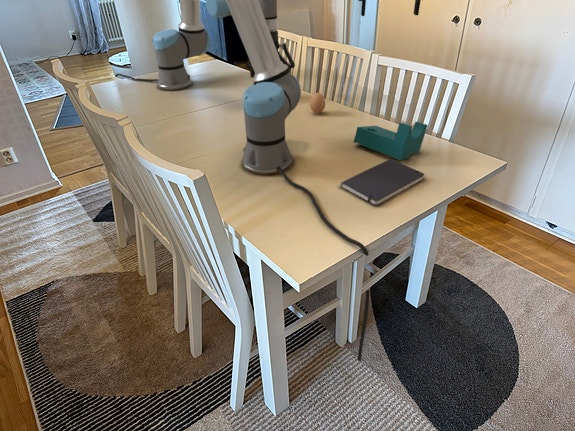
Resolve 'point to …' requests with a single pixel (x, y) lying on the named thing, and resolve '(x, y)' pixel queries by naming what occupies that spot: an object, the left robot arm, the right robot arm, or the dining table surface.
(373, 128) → the teal l-shaped bracket
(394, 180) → the notebook
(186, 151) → the dining table surface
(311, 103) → the egg
